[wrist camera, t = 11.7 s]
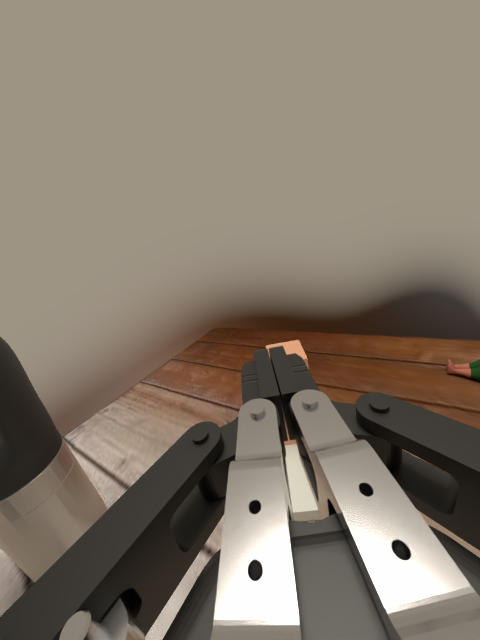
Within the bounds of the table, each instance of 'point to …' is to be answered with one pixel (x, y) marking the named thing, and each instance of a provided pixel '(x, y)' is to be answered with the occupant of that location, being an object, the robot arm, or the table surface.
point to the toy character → (465, 369)
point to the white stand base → (300, 488)
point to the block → (289, 349)
